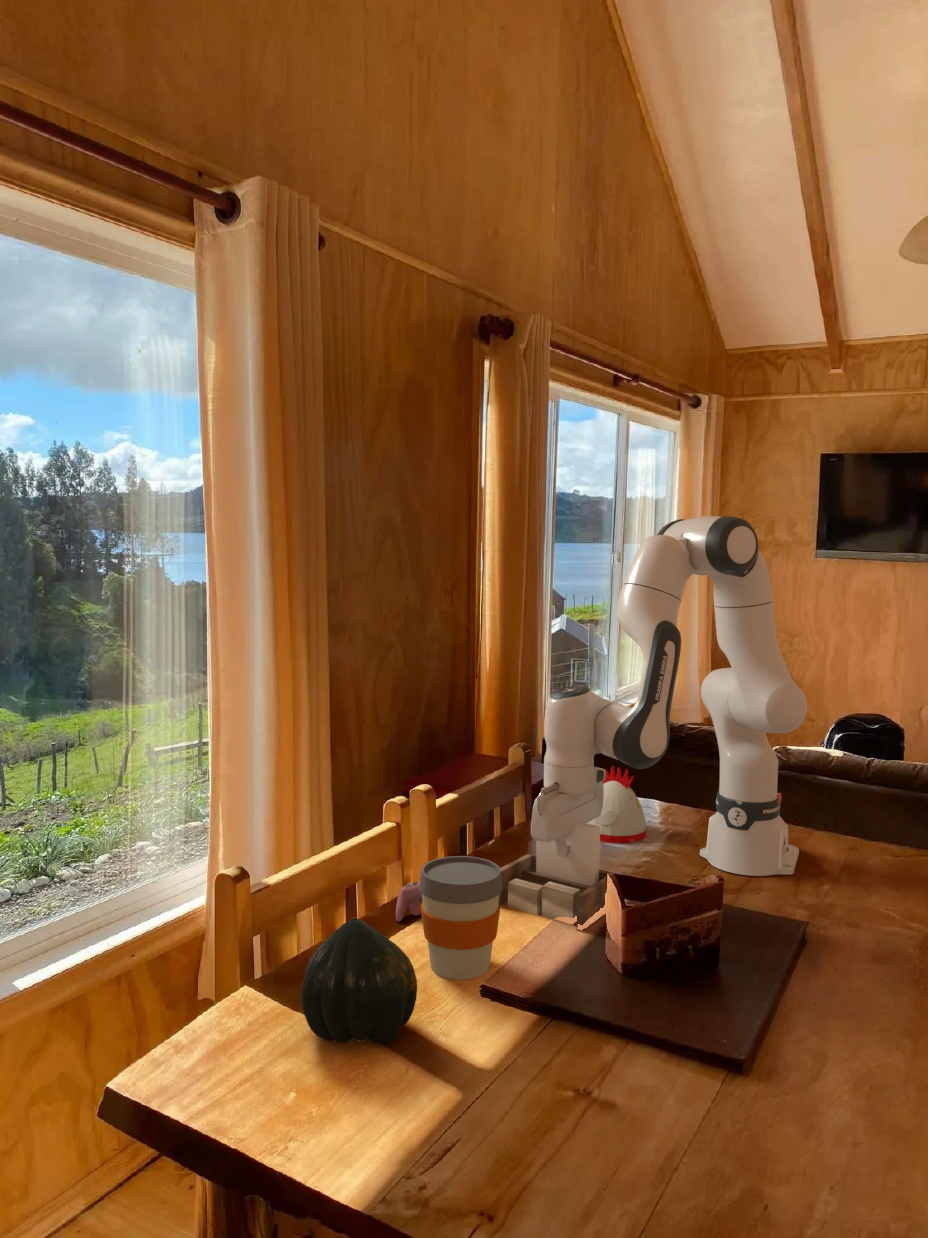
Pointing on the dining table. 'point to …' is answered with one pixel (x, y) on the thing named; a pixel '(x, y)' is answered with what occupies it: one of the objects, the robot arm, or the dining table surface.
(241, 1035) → the dining table surface
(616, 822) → the kitchen timer
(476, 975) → the reusable coffee cup
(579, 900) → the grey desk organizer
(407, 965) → the squash
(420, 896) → the video game controller
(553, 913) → the birch offcut
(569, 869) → the white panel
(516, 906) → the birch offcut
